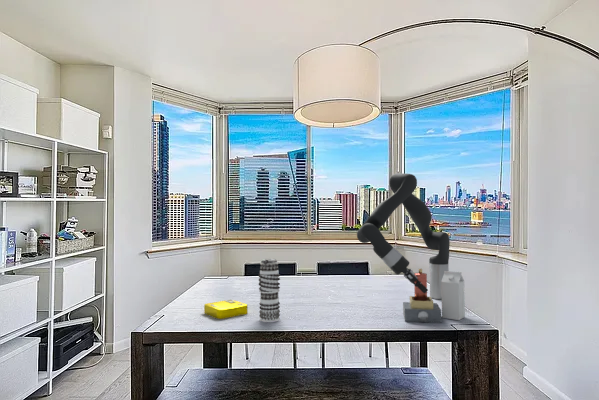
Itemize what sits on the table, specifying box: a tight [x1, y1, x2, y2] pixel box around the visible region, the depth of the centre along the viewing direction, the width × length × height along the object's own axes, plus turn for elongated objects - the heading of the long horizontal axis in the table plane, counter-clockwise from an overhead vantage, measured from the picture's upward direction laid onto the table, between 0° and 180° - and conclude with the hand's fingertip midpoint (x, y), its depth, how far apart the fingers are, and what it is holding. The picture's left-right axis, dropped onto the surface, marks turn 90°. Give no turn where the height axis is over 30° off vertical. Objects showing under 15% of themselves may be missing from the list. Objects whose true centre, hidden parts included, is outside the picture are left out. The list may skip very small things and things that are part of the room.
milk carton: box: [441, 270, 466, 321], centre depth 170 cm, size 7×7×19 cm
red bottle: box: [413, 268, 428, 301], centre depth 170 cm, size 5×5×14 cm
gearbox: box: [402, 295, 442, 324], centre depth 169 cm, size 13×14×8 cm
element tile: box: [203, 299, 249, 320], centre depth 181 cm, size 15×15×5 cm
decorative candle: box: [257, 258, 281, 323], centre depth 170 cm, size 9×9×25 cm
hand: (425, 290), depth 169 cm, fingers closed on red bottle, 5 cm apart
